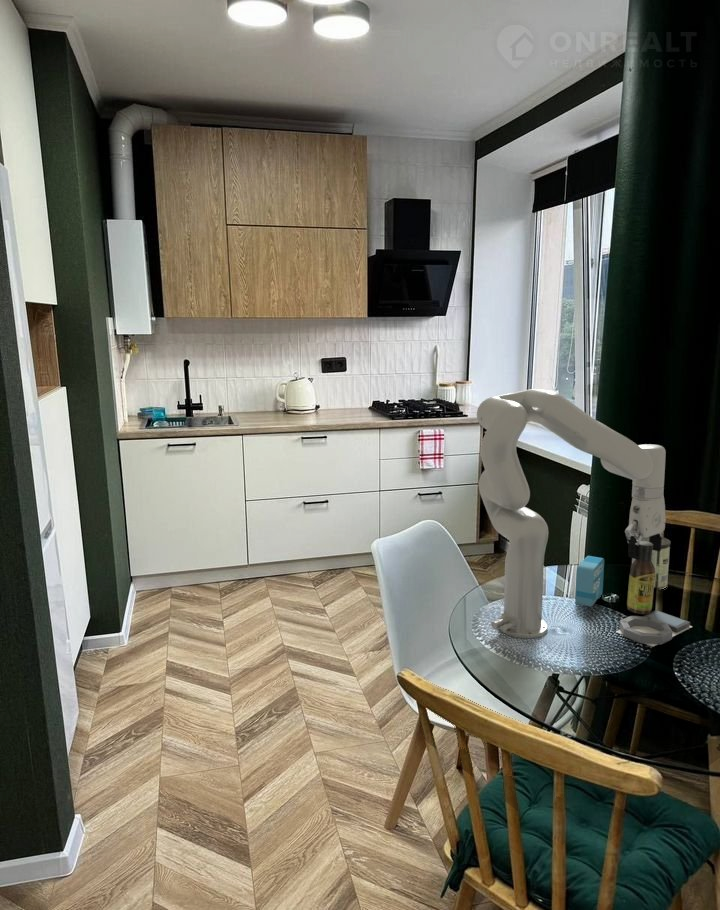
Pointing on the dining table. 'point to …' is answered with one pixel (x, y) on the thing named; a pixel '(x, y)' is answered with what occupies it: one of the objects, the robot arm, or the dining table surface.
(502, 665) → the dining table surface
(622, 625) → the grey shallow tray
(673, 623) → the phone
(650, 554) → the sauce bottle
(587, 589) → the data package
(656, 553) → the coffee can
